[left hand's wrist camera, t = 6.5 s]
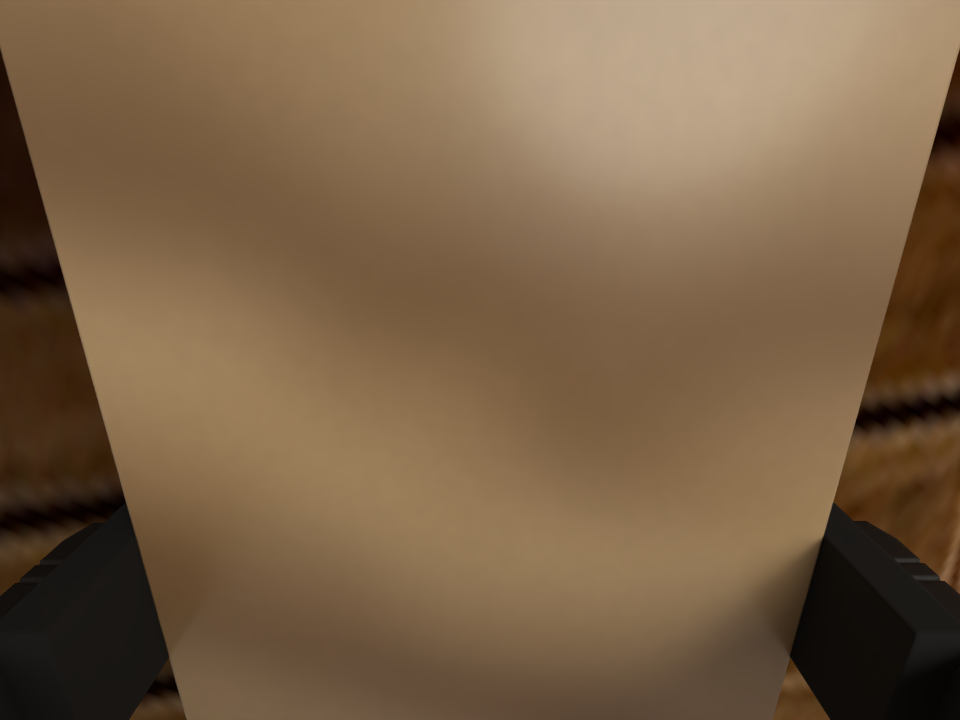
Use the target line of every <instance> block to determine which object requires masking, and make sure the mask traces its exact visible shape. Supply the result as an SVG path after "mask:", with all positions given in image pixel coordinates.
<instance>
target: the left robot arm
mask: <svg viewBox="0 0 960 720" xmlns="http://www.w3.org/2000/svg"><path fill="white" fill-rule="evenodd" d="M790 657H791V659H792V660H793V662H794V664H795V665H796V667H797V668H798V670H799V671H800V673H801V675H802V676H803V678H804V679H805V681H806V682H807V684H808V685H809V687H810V689H811V690H812V692H813V693H814V695H815V696H816V698H817V700H818V701H819V703H820V704H821V706H822V707H823V709H824V710H825V712H826V714H827V715H828V717H829V718H830V720H960V594H959V593H957V592H956V591H955V590H954V589H953V588H952V587H951V586H950V585H948V584H947V583H946V582H945V581H940V579H939V576H938V575H937V574H936V573H935V572H934V571H933V570H931V569H930V568H929V567H928V566H927V565H926V564H925V563H920V559H919V558H918V557H917V556H915V555H914V554H913V553H912V552H911V551H910V550H909V549H908V548H906V547H905V546H904V545H903V544H902V543H901V542H900V541H898V540H897V539H896V538H894V537H893V536H891V535H889V534H887V533H886V532H884V531H882V530H881V529H879V528H877V527H875V526H874V525H872V524H870V523H868V522H867V521H853V520H852V519H851V518H850V517H849V516H848V515H846V514H845V513H844V512H843V511H842V510H841V509H840V508H839V507H838V506H837V505H836V504H835V503H834V502H833V504H832V508H831V511H830V515H829V518H828V522H827V526H826V529H825V533H824V536H823V540H822V544H821V547H820V551H819V554H818V558H817V561H816V565H815V569H814V572H813V576H812V579H811V583H810V587H809V590H808V594H807V597H806V601H805V605H804V608H803V612H802V615H801V619H800V623H799V626H798V630H797V633H796V637H795V640H794V644H793V648H792V651H791V655H790ZM168 658H169V655H168V652H167V648H166V644H165V641H164V637H163V634H162V630H161V626H160V623H159V619H158V615H157V612H156V608H155V605H154V601H153V597H152V594H151V590H150V587H149V583H148V579H147V576H146V572H145V569H144V565H143V561H142V558H141V554H140V551H139V547H138V543H137V540H136V536H135V533H134V529H133V525H132V522H131V518H130V515H129V511H128V507H127V504H126V503H125V504H124V505H123V506H121V507H120V508H119V509H118V510H117V511H116V512H115V513H114V514H113V515H112V516H111V517H110V518H109V519H108V520H106V521H105V522H104V523H93V524H91V525H89V526H88V527H86V528H84V529H83V530H81V531H79V532H77V533H76V534H74V535H72V536H70V537H69V538H67V539H65V540H64V541H62V542H61V543H60V544H59V545H58V546H57V547H56V548H55V549H53V550H52V551H51V552H50V553H49V554H48V555H47V556H46V557H44V558H43V559H42V560H41V561H40V565H35V566H34V567H33V568H32V569H31V570H30V571H29V572H27V573H26V574H25V575H24V576H23V577H22V578H21V580H20V583H15V584H14V585H13V586H12V587H11V588H9V589H8V590H7V591H6V592H5V593H4V594H3V595H2V596H0V720H129V719H130V717H131V716H132V714H133V713H134V711H135V710H136V708H137V706H138V705H139V703H140V702H141V700H142V699H143V697H144V695H145V694H146V692H147V691H148V689H149V688H150V686H151V685H152V683H153V681H154V680H155V678H156V677H157V675H158V674H159V672H160V670H161V669H162V667H163V666H164V664H165V663H166V661H167V660H168Z"/></svg>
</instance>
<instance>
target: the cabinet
mask: <svg viewBox="0 0 960 720" xmlns="http://www.w3.org/2000/svg"><path fill="white" fill-rule="evenodd" d="M959 48H960V0H0V50H1V53H2V57H3V60H4V64H5V68H6V71H7V75H8V78H9V82H10V86H11V89H12V93H13V96H14V100H15V104H16V107H17V111H18V114H19V118H20V122H21V125H22V129H23V132H24V136H25V140H26V143H27V147H28V150H29V154H30V158H31V161H32V165H33V169H34V172H35V176H36V179H37V183H38V187H39V190H40V194H41V197H42V201H43V205H44V208H45V212H46V215H47V219H48V223H49V226H50V230H51V233H52V237H53V241H54V244H55V248H56V251H57V255H58V259H59V262H60V266H61V269H62V273H63V277H64V280H65V284H66V287H67V291H68V295H69V298H70V302H71V305H72V309H73V313H74V316H75V320H76V324H77V327H78V331H79V334H80V338H81V342H82V345H83V349H84V352H85V356H86V360H87V363H88V367H89V370H90V374H91V378H92V381H93V385H94V388H95V392H96V396H97V399H98V403H99V406H100V410H101V414H102V417H103V421H104V424H105V428H106V432H107V435H108V439H109V442H110V446H111V450H112V453H113V457H114V460H115V464H116V468H117V471H118V475H119V479H120V482H121V486H122V489H123V493H124V497H125V500H126V504H127V507H128V511H129V515H130V518H131V522H132V525H133V529H134V533H135V536H136V540H137V543H138V547H139V551H140V554H141V558H142V561H143V565H144V569H145V572H146V576H147V579H148V583H149V587H150V590H151V594H152V597H153V601H154V605H155V608H156V612H157V615H158V619H159V623H160V626H161V630H162V634H163V637H164V641H165V644H166V648H167V652H168V655H169V659H170V662H171V666H172V670H173V673H174V677H175V680H176V684H177V688H178V691H179V695H180V698H181V702H182V706H183V709H184V713H185V716H186V720H772V719H773V716H774V712H775V709H776V705H777V701H778V698H779V694H780V691H781V687H782V684H783V680H784V676H785V673H786V669H787V666H788V662H789V658H790V655H791V651H792V648H793V644H794V640H795V637H796V633H797V630H798V626H799V623H800V619H801V615H802V612H803V608H804V605H805V601H806V597H807V594H808V590H809V587H810V583H811V579H812V576H813V572H814V569H815V565H816V561H817V558H818V554H819V551H820V547H821V544H822V540H823V536H824V533H825V529H826V526H827V522H828V518H829V515H830V511H831V508H832V504H833V500H834V497H835V493H836V490H837V486H838V483H839V479H840V475H841V472H842V468H843V465H844V461H845V457H846V454H847V450H848V447H849V443H850V439H851V436H852V432H853V429H854V425H855V422H856V418H857V414H858V411H859V407H860V404H861V400H862V396H863V393H864V389H865V386H866V382H867V378H868V375H869V371H870V368H871V364H872V361H873V357H874V353H875V350H876V346H877V343H878V339H879V335H880V332H881V328H882V325H883V321H884V317H885V314H886V310H887V307H888V303H889V300H890V296H891V292H892V289H893V285H894V282H895V278H896V274H897V271H898V267H899V264H900V260H901V256H902V253H903V249H904V246H905V242H906V239H907V235H908V231H909V228H910V224H911V221H912V217H913V213H914V210H915V206H916V203H917V199H918V195H919V192H920V188H921V185H922V181H923V178H924V174H925V170H926V167H927V163H928V160H929V156H930V152H931V149H932V145H933V142H934V138H935V134H936V131H937V127H938V124H939V120H940V116H941V113H942V109H943V106H944V102H945V99H946V95H947V91H948V88H949V84H950V81H951V77H952V73H953V70H954V66H955V63H956V59H957V55H958V52H959Z"/></svg>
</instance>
